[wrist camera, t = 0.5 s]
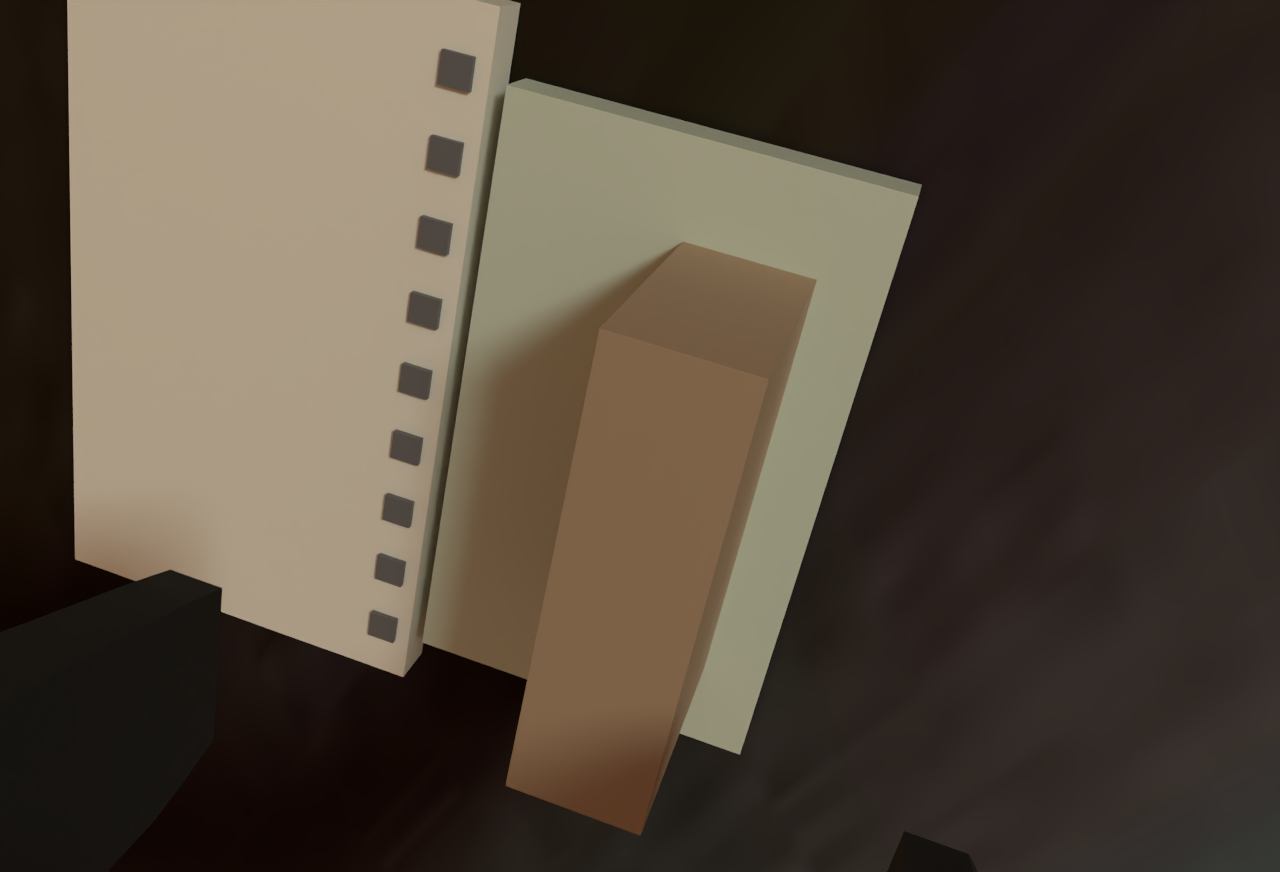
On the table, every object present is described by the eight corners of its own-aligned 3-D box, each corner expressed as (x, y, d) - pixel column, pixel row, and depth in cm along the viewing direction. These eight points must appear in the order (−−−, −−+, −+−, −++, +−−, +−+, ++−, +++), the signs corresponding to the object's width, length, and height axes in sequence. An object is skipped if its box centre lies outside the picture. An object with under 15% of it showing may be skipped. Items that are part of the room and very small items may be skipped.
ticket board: (421, 653, 22) (400, 680, 22) (103, 540, 23) (71, 561, 23) (520, 3, 17) (497, 7, 16) (102, -105, 18) (60, -107, 17)
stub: (748, 726, 21) (685, 936, 17) (440, 619, 22) (304, 791, 17) (921, 184, 16) (898, 277, 12) (526, 78, 17) (372, 129, 13)
